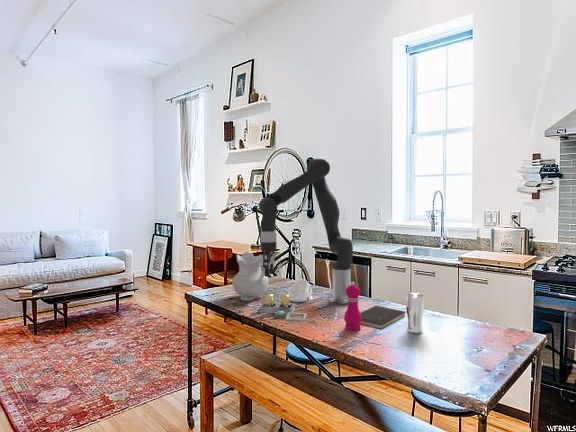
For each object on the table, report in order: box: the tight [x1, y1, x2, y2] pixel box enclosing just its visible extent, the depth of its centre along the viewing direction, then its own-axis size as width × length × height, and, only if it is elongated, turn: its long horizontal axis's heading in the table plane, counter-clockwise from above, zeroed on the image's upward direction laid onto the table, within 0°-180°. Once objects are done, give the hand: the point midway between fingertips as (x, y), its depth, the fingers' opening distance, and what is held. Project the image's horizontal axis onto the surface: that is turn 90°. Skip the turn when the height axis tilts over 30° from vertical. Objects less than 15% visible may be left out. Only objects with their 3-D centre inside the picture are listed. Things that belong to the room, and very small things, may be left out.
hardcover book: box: [359, 305, 407, 329], centre depth 182 cm, size 16×23×2 cm
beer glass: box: [405, 292, 425, 334], centre depth 164 cm, size 7×7×15 cm
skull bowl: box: [287, 278, 313, 303], centre depth 210 cm, size 10×14×12 cm
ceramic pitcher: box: [231, 251, 270, 302], centre depth 214 cm, size 22×20×25 cm
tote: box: [285, 312, 307, 322], centre depth 180 cm, size 8×8×2 cm
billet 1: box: [264, 293, 274, 307], centre depth 192 cm, size 4×4×7 cm
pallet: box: [258, 302, 297, 314], centre depth 191 cm, size 16×10×3 cm, turn 81°
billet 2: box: [280, 293, 291, 308], centre depth 190 cm, size 4×4×7 cm
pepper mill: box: [343, 281, 362, 332], centre depth 167 cm, size 7×7×20 cm
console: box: [273, 312, 288, 320], centre depth 181 cm, size 5×5×2 cm
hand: (269, 274), depth 191 cm, fingers open, 8 cm apart
